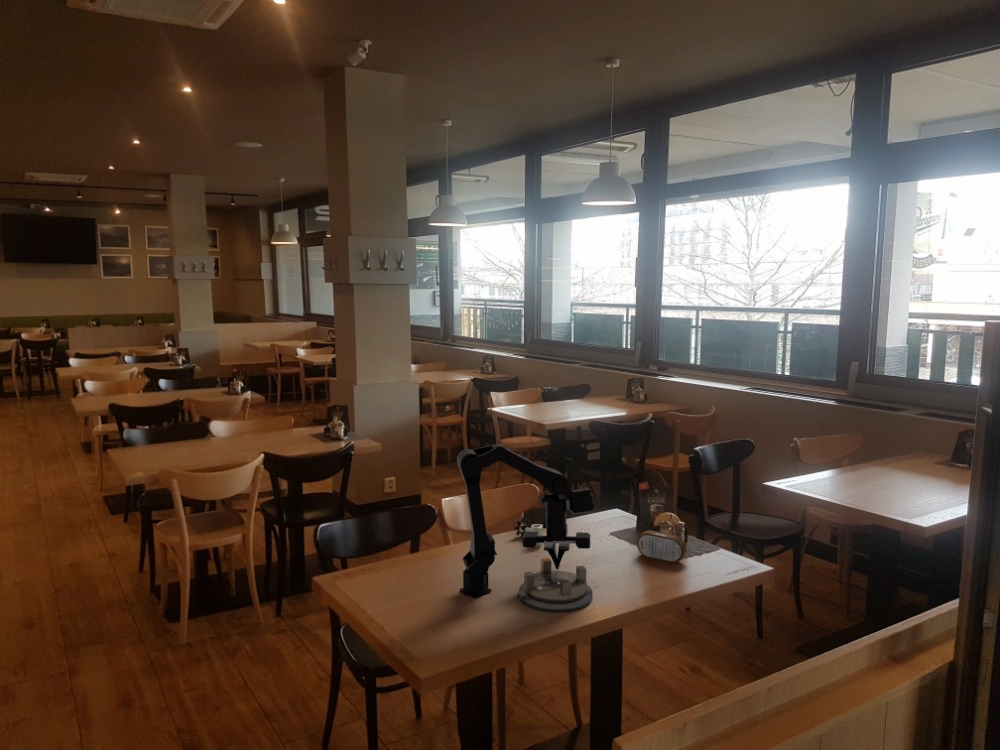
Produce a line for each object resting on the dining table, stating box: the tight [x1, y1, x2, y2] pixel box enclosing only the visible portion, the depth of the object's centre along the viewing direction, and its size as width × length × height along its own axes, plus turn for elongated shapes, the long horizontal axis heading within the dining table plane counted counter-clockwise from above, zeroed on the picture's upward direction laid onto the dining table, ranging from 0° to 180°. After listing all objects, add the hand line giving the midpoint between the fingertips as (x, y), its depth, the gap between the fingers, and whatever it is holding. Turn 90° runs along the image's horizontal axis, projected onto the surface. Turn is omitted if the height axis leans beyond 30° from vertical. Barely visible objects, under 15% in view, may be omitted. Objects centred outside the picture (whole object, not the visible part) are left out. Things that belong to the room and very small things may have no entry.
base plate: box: [518, 582, 594, 613], centre depth 189 cm, size 20×20×2 cm
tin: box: [636, 529, 687, 564], centre depth 214 cm, size 15×3×8 cm, turn 58°
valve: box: [513, 517, 544, 548], centre depth 230 cm, size 7×7×12 cm
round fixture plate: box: [523, 557, 588, 604], centre depth 188 cm, size 17×17×6 cm
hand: (557, 569), depth 196 cm, fingers closed
